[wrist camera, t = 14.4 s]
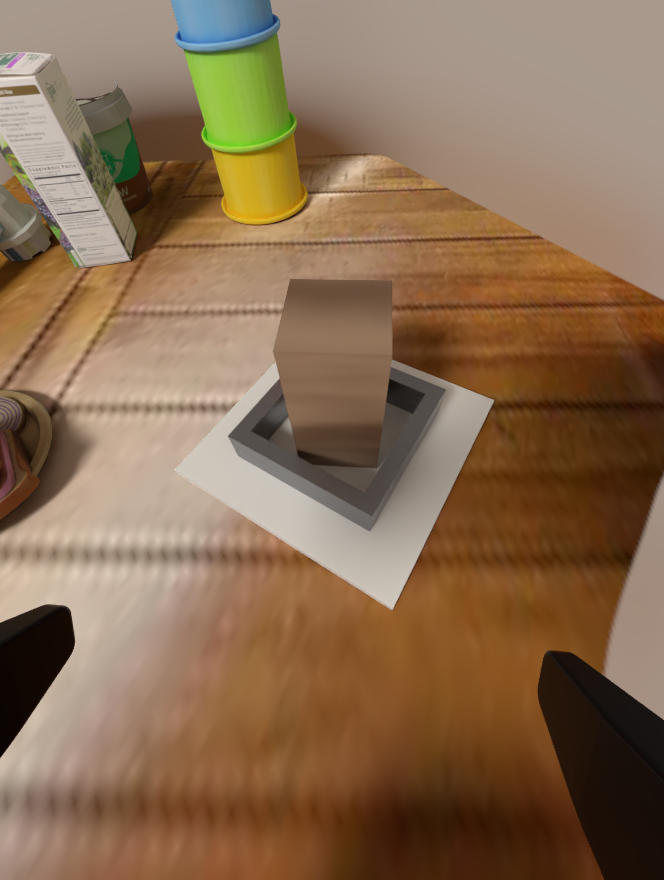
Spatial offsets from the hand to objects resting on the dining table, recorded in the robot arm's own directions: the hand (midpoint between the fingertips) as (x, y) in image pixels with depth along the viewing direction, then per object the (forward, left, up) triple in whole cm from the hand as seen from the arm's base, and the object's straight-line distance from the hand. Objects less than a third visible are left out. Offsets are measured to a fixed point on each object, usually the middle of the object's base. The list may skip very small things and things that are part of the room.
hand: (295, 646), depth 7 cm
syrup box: (+20, +40, -14) cm, 47 cm away
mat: (+12, +6, -14) cm, 19 cm away
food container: (+27, +46, -14) cm, 55 cm away
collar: (+12, +6, -14) cm, 19 cm away
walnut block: (+12, +6, -13) cm, 19 cm away
